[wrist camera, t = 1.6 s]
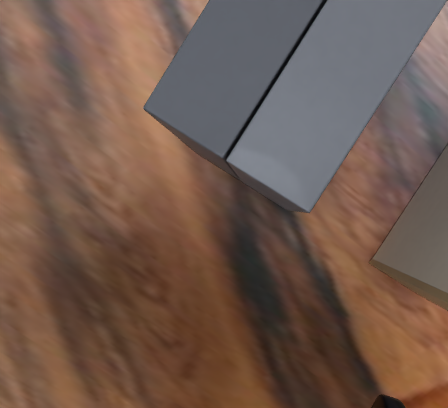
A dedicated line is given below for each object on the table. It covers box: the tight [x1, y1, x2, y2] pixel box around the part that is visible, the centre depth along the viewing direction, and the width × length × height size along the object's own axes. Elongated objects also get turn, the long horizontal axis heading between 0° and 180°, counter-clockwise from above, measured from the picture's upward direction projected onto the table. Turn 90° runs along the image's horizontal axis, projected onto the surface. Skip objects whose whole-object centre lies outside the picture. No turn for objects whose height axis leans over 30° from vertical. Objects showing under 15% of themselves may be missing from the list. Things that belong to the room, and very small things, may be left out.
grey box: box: [143, 0, 447, 213], centre depth 17 cm, size 8×6×10 cm
